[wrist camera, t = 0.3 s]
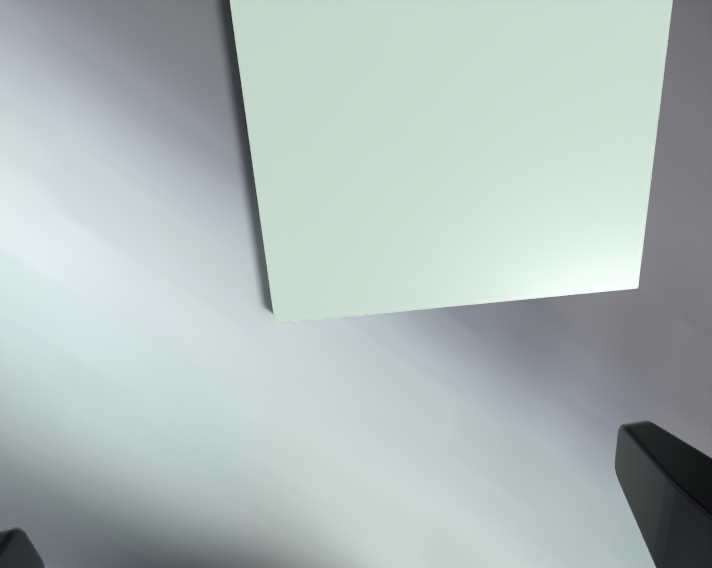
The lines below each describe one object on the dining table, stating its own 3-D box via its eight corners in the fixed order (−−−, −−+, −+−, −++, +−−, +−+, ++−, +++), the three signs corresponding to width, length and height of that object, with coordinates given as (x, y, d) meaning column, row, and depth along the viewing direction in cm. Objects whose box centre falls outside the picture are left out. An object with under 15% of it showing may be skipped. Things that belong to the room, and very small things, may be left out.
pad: (630, 282, 24) (637, 288, 23) (275, 316, 23) (274, 323, 23) (710, -411, 16) (724, -426, 15) (178, -384, 15) (173, -399, 15)
